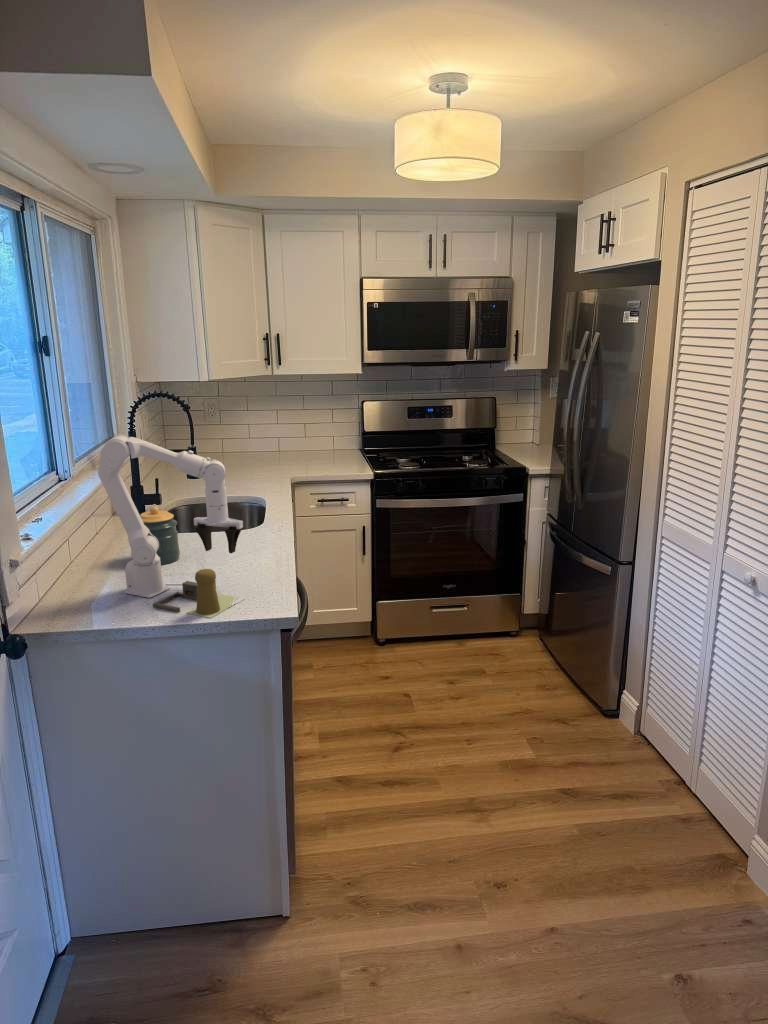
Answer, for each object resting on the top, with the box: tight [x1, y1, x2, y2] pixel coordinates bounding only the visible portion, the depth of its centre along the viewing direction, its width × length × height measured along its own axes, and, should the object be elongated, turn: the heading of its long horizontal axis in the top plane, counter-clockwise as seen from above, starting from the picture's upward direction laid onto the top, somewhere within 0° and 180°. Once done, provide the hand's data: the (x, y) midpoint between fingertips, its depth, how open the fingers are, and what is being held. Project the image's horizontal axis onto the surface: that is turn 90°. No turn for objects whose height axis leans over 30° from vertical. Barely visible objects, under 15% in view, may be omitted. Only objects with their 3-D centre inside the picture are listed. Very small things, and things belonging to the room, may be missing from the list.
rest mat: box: [186, 594, 239, 619], centre depth 179 cm, size 8×14×1 cm, turn 155°
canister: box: [139, 505, 181, 566], centre depth 215 cm, size 13×13×18 cm
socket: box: [152, 580, 198, 614], centre depth 183 cm, size 8×15×4 cm, turn 155°
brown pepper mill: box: [194, 568, 220, 615], centre depth 174 cm, size 6×6×11 cm
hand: (220, 551), depth 191 cm, fingers open, 7 cm apart
